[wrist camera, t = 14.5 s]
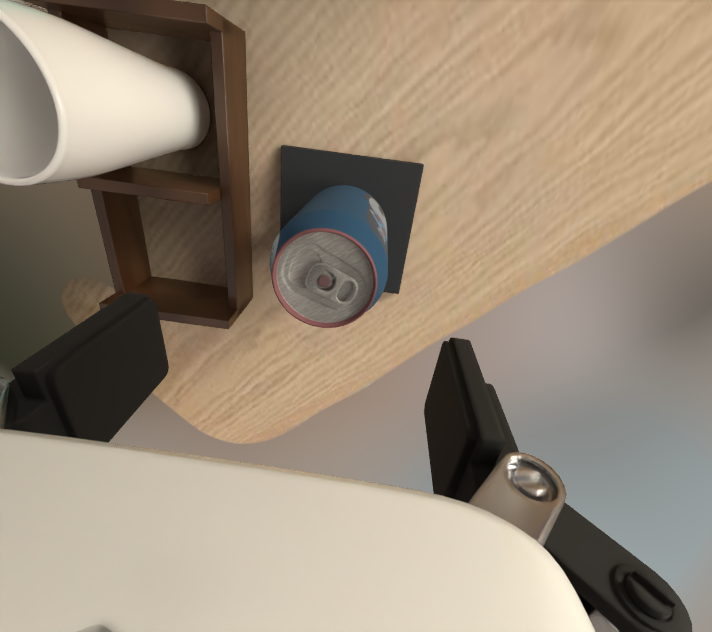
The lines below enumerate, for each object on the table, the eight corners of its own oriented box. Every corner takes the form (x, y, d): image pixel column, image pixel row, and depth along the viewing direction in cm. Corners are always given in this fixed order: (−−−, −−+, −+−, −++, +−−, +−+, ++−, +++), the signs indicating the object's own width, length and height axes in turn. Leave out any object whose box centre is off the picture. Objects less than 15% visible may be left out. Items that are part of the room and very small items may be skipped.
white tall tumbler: (212, 174, 28) (64, 215, 15) (129, 135, 27) (-105, 144, 14) (232, 83, 25) (69, 36, 12) (139, 36, 24) (-149, -71, 11)
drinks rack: (245, 31, 24) (206, 4, 18) (253, 297, 34) (228, 329, 28) (92, 11, 24) (9, -22, 19) (144, 283, 34) (100, 311, 28)
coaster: (423, 164, 27) (424, 164, 26) (398, 291, 32) (398, 294, 32) (282, 145, 27) (281, 145, 27) (281, 275, 32) (279, 277, 32)
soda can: (292, 241, 30) (242, 303, 20) (326, 165, 27) (289, 190, 16) (362, 278, 31) (350, 355, 21) (402, 209, 28) (414, 259, 18)
